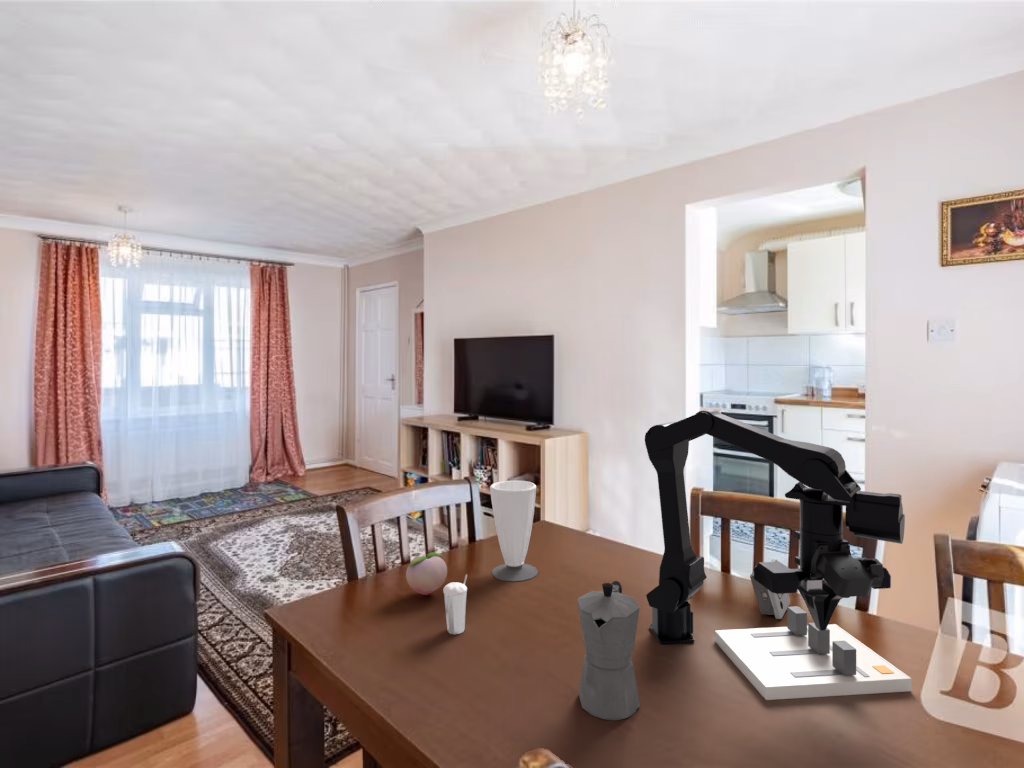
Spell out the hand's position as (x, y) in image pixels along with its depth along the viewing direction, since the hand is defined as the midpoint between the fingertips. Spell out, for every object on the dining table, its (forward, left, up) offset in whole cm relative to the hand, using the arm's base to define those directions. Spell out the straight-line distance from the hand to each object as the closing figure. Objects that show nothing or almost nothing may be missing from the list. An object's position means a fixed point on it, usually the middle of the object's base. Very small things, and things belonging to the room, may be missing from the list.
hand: (820, 629), depth 82 cm
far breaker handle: (+4, +12, -7) cm, 14 cm away
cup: (-44, +51, -9) cm, 68 cm away
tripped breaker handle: (+4, 0, -7) cm, 8 cm away
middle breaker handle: (+4, +6, -7) cm, 10 cm away
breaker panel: (+1, +6, -9) cm, 11 cm away
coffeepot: (-33, +1, -9) cm, 34 cm away
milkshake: (-57, +24, -9) cm, 63 cm away
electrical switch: (+7, +26, -9) cm, 28 cm away
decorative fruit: (-64, +40, -9) cm, 76 cm away
